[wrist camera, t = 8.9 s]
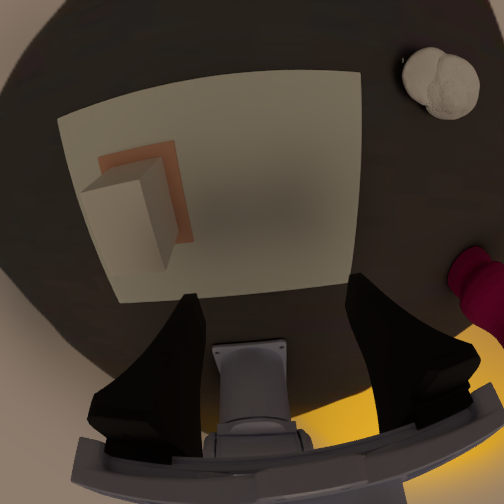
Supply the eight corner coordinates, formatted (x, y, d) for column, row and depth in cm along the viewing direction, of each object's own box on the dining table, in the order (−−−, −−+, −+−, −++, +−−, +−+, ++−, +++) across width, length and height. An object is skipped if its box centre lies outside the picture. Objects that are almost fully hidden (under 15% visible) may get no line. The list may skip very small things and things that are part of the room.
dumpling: (459, 72, 15) (491, 77, 11) (449, 125, 17) (480, 137, 14) (394, 36, 14) (424, 31, 10) (383, 96, 16) (412, 102, 13)
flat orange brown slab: (193, 240, 22) (193, 242, 22) (125, 248, 22) (125, 249, 22) (174, 140, 18) (173, 140, 17) (98, 157, 18) (97, 157, 17)
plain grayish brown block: (161, 156, 18) (139, 179, 14) (179, 231, 21) (165, 271, 17) (111, 167, 18) (79, 193, 14) (132, 237, 21) (111, 276, 17)
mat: (347, 280, 25) (348, 282, 25) (120, 301, 26) (119, 303, 25) (358, 72, 15) (360, 72, 15) (59, 118, 16) (57, 118, 15)
